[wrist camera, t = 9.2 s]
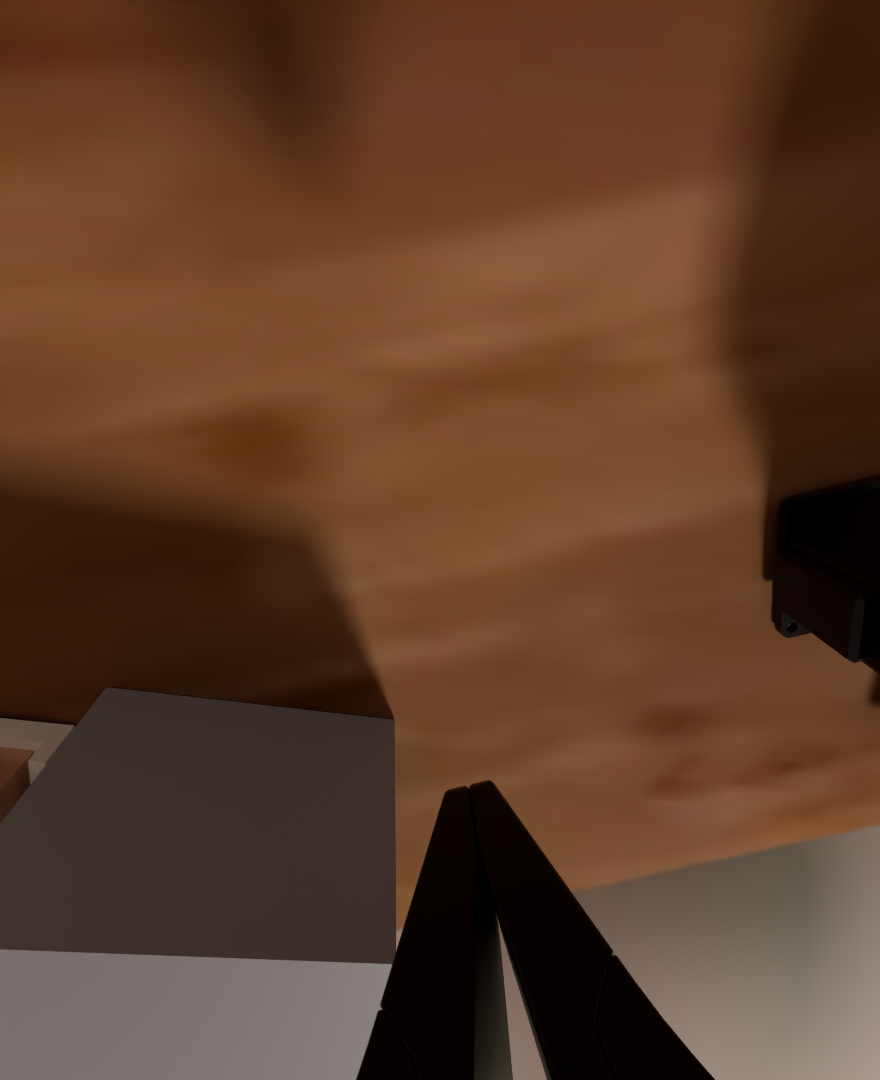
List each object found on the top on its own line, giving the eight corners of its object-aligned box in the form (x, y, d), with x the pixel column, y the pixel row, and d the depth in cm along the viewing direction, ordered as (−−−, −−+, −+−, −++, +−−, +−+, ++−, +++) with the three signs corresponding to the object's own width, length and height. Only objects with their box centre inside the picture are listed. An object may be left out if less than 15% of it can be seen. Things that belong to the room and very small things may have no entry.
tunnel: (394, 719, 23) (396, 964, 15) (359, 871, 27) (343, 1142, 18) (106, 687, 22) (-95, 945, 13) (109, 855, 25) (-45, 1148, 16)
